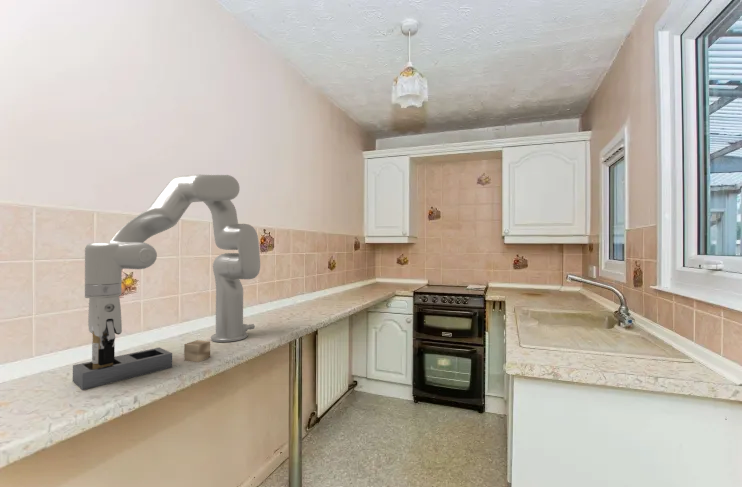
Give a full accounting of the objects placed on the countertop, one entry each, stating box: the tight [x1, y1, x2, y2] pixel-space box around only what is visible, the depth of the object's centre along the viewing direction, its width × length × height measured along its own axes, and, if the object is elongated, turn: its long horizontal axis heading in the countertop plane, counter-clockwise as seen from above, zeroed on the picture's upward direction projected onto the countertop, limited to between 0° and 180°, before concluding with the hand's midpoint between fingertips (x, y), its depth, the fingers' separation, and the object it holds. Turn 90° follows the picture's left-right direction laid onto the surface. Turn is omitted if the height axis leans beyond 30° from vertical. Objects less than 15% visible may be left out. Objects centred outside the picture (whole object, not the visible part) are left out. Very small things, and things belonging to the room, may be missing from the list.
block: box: [183, 339, 211, 363], centre depth 106 cm, size 5×5×5 cm
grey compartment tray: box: [72, 347, 173, 391], centre depth 93 cm, size 20×9×4 cm, turn 142°
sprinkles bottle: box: [91, 326, 114, 369], centre depth 90 cm, size 5×5×14 cm
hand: (103, 360), depth 90 cm, fingers closed on sprinkles bottle, 4 cm apart
